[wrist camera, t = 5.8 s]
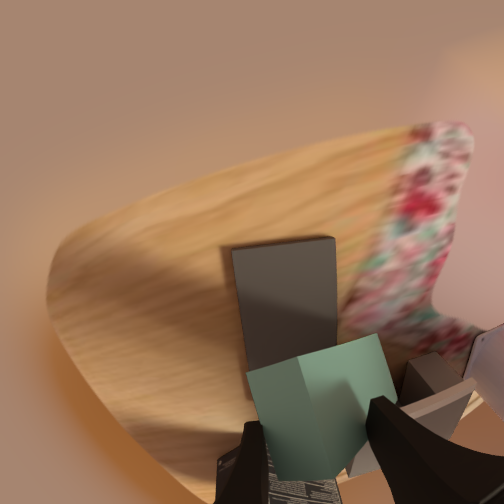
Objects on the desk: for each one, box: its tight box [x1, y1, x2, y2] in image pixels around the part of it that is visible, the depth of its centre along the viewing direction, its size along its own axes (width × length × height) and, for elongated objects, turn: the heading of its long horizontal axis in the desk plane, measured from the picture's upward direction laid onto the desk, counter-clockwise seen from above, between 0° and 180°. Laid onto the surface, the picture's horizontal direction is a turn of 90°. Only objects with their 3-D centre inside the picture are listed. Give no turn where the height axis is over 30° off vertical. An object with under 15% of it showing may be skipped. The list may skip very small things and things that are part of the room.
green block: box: [246, 333, 398, 481], centre depth 12 cm, size 2×10×5 cm
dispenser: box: [345, 351, 477, 478], centre depth 17 cm, size 10×7×6 cm
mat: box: [231, 237, 337, 372], centre depth 18 cm, size 6×12×1 cm, turn 7°
